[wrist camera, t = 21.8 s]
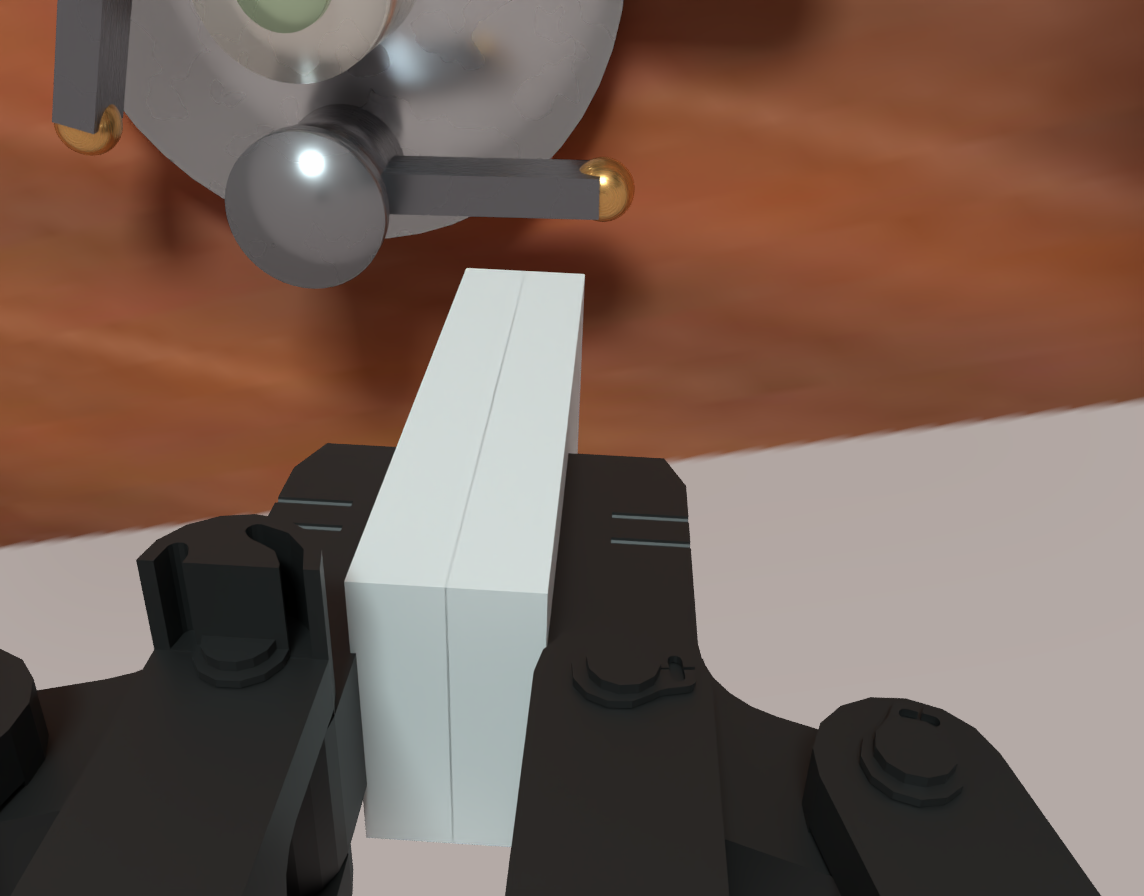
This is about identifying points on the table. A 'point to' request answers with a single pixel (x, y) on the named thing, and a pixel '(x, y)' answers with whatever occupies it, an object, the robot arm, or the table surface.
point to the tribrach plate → (365, 75)
